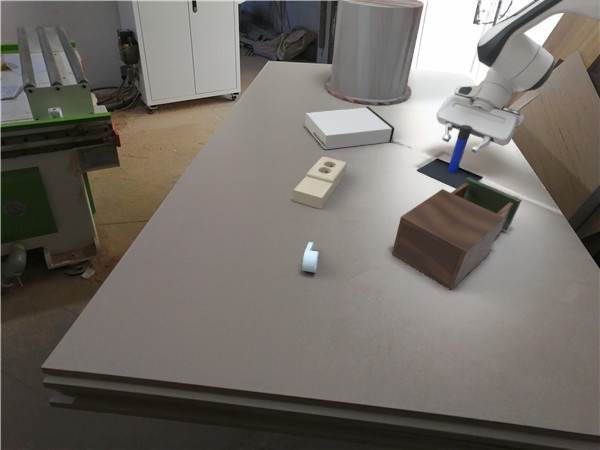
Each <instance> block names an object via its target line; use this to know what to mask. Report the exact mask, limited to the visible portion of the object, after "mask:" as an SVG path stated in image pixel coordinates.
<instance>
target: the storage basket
mask: <svg viewBox="0 0 600 450" xmlns="http://www.w3.org/2000/svg"><path fill="white" fill-rule="evenodd" d="M424 5H425V3H424V2H422V1H420V0H337V7H336V8H337V9H336V18H335V28H334V29H335V30H334V38H333V39H334V40H333V51H332V62H331V71H330V77H328V78H327V79H326V80H325V82H324V90H325V91H326V92H327V93H328V94H329V95H331V96H332V97H334V98H337V99H338V100H342V101H344V102H349V103H353V104H357V105H358V104H359V105H364V106H391V105H392V106H393V105H399V104H401V103H405V102H407V101H408V100H409V99H410V98H411V95H412V89H411V87H410V86H409V85H408V83H409V78H410V73H411V67H412V63H413V58H414V54H415V49H416V45H417V44H416V43H417V40H418V35H419V30H420V24H421V20H422V14H423V12H424V11H423V10H424Z"/></svg>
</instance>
